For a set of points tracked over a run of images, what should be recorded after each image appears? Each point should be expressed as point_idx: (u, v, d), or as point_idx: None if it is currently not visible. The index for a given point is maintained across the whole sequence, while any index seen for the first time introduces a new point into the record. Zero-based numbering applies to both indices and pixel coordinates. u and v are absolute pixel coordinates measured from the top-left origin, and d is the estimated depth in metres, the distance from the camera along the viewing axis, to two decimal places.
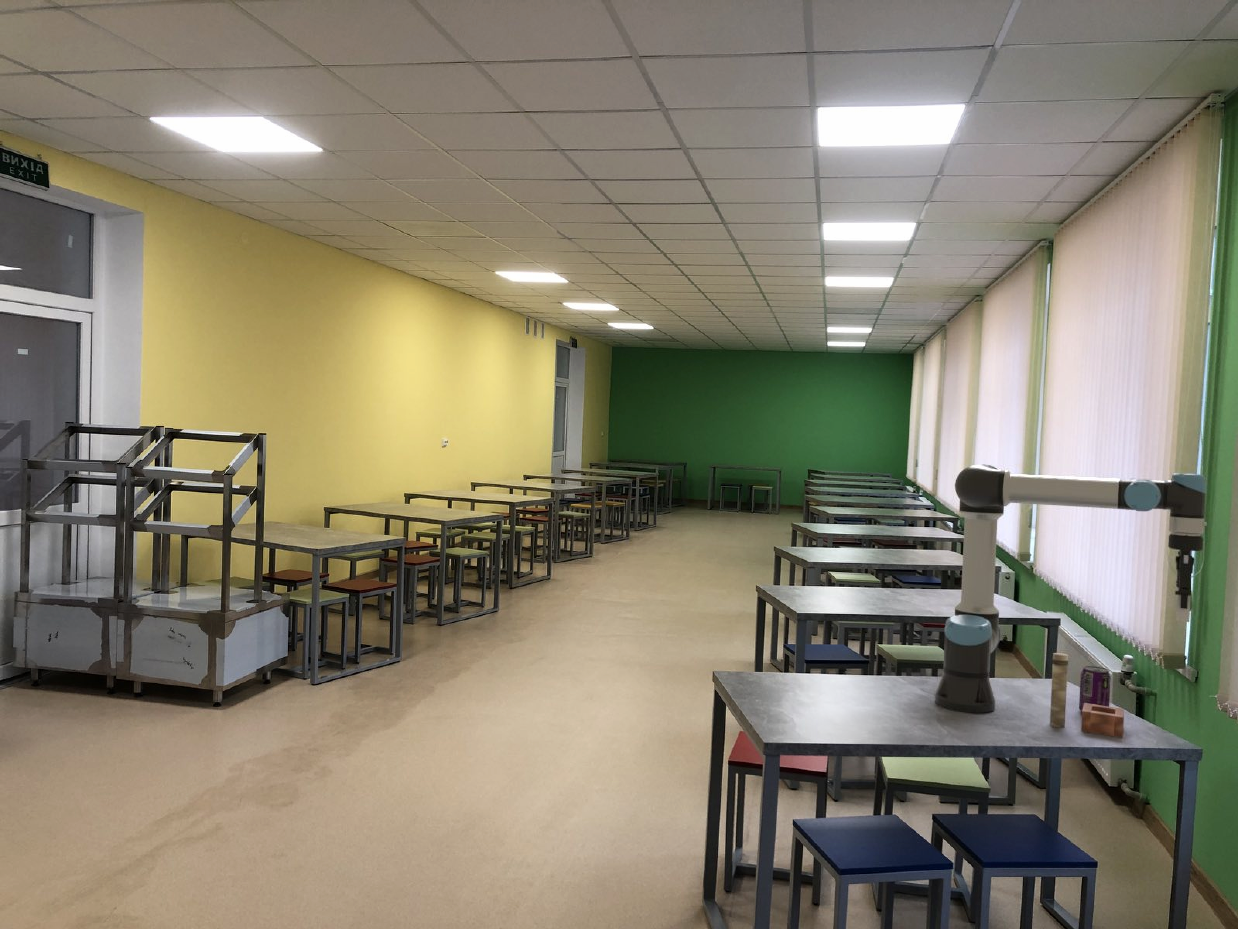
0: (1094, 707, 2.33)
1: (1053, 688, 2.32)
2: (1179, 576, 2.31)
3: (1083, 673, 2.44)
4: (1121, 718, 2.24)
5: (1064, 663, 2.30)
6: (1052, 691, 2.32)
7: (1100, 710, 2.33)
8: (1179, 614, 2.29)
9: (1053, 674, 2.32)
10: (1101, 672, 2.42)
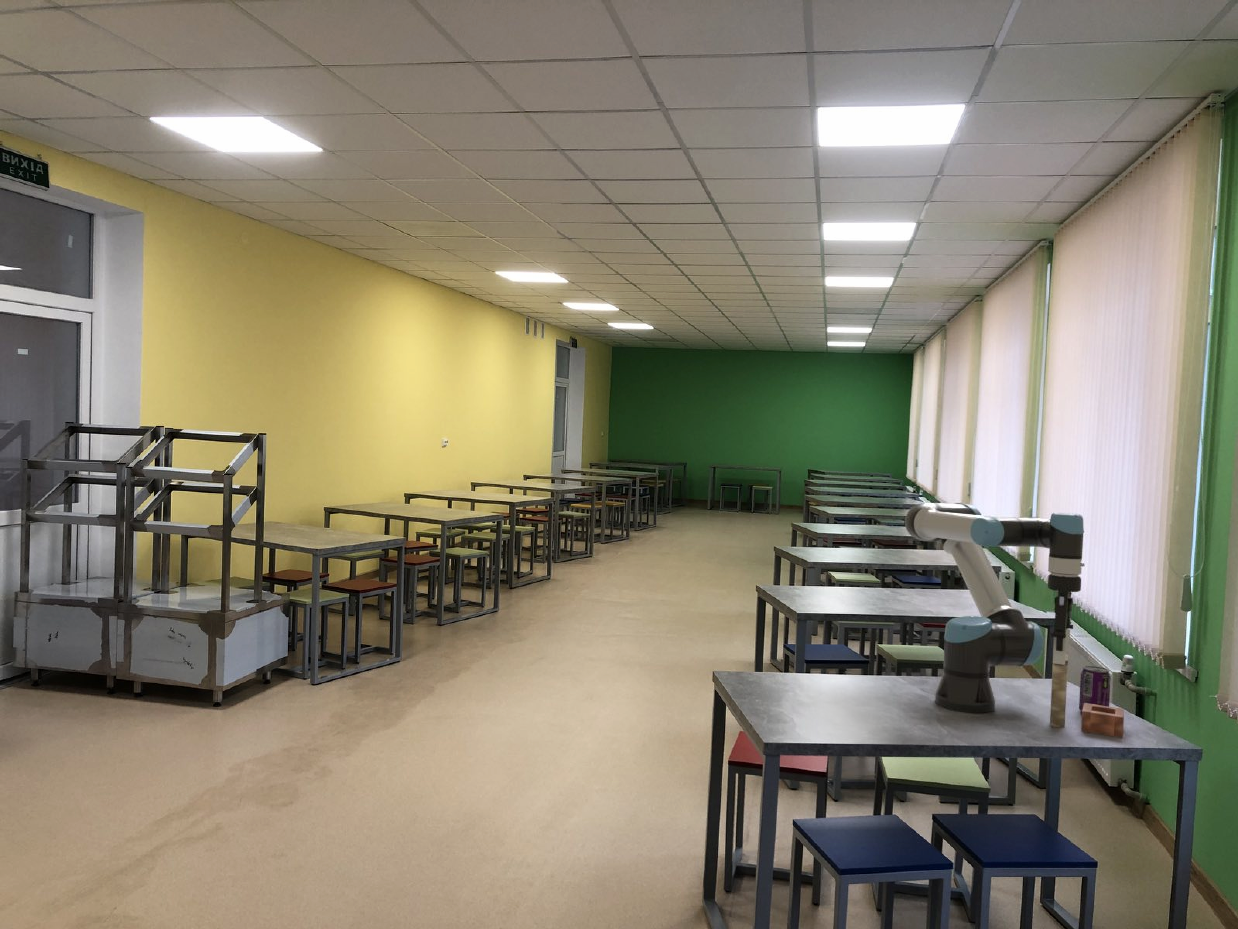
0: (1094, 707, 2.33)
1: (1053, 688, 2.32)
2: None
3: (1083, 673, 2.44)
4: (1121, 718, 2.24)
5: None
6: (1052, 691, 2.32)
7: (1100, 710, 2.33)
8: (1055, 656, 2.26)
9: (1053, 674, 2.32)
10: (1101, 672, 2.42)
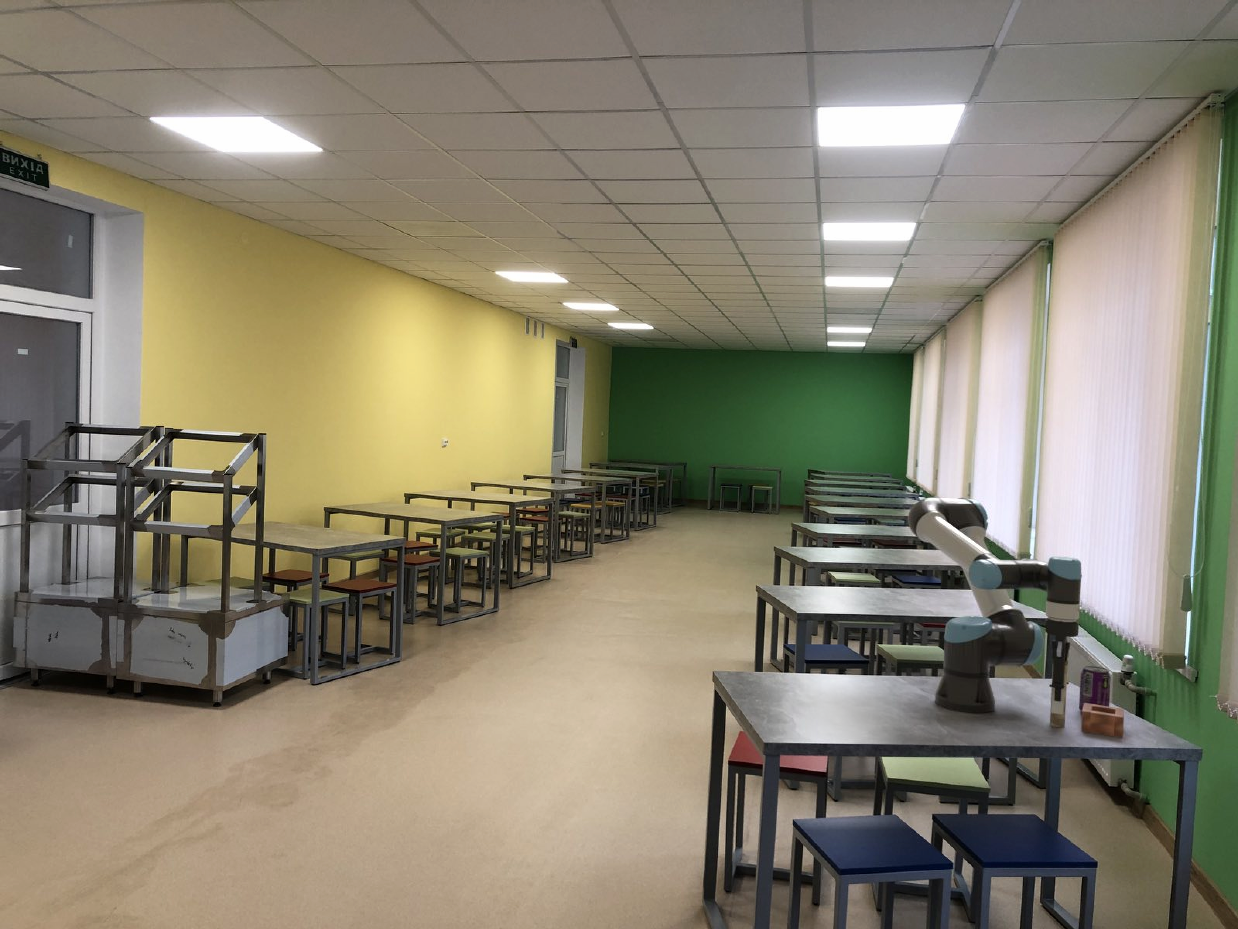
0: (1094, 707, 2.33)
1: None
2: None
3: (1083, 673, 2.44)
4: (1121, 718, 2.24)
5: None
6: None
7: (1100, 710, 2.33)
8: (1053, 706, 2.31)
9: None
10: (1101, 672, 2.42)
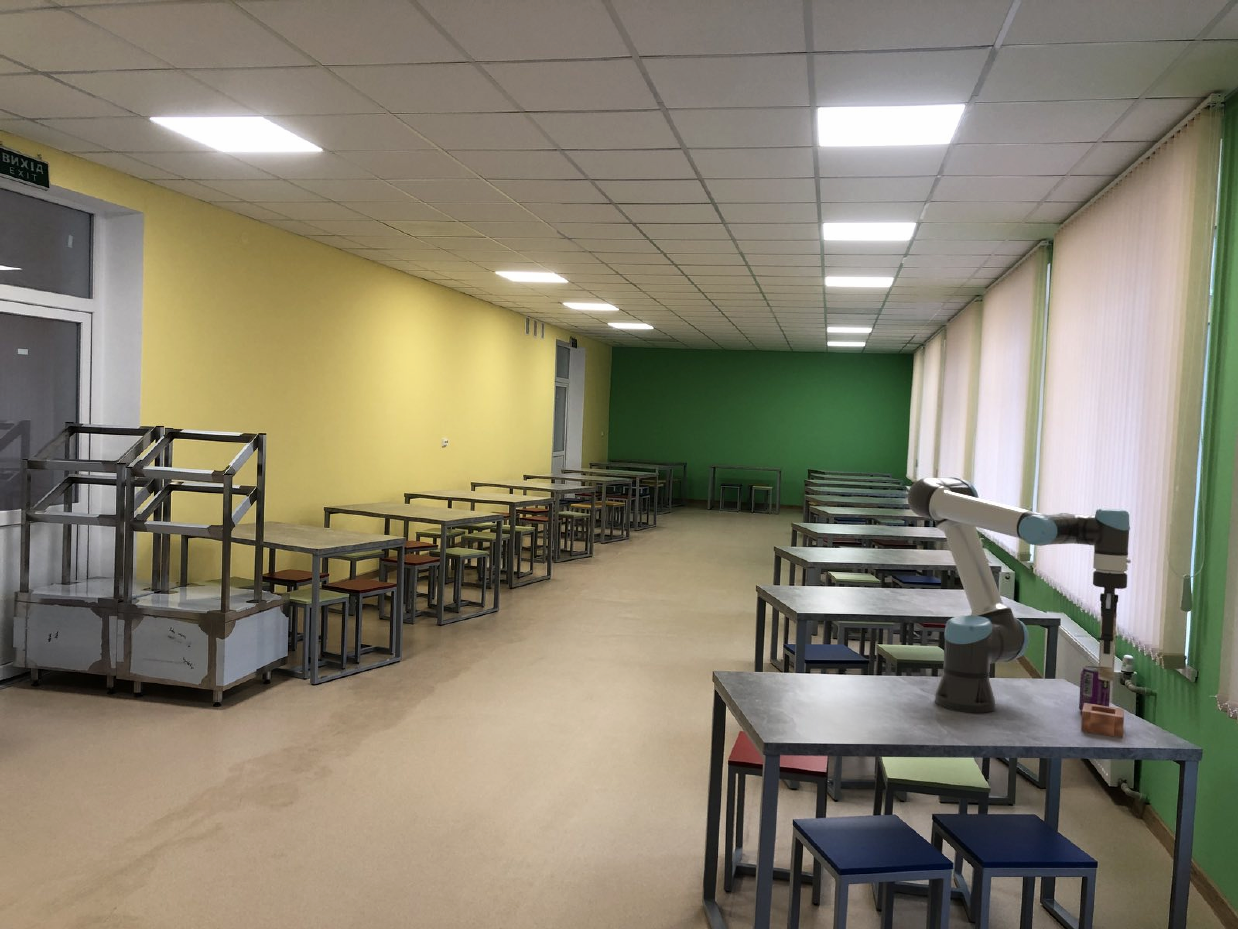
0: (1094, 707, 2.33)
1: None
2: None
3: (1083, 673, 2.44)
4: (1121, 718, 2.24)
5: None
6: (1100, 644, 2.29)
7: (1100, 710, 2.33)
8: (1102, 659, 2.28)
9: (1101, 627, 2.29)
10: None
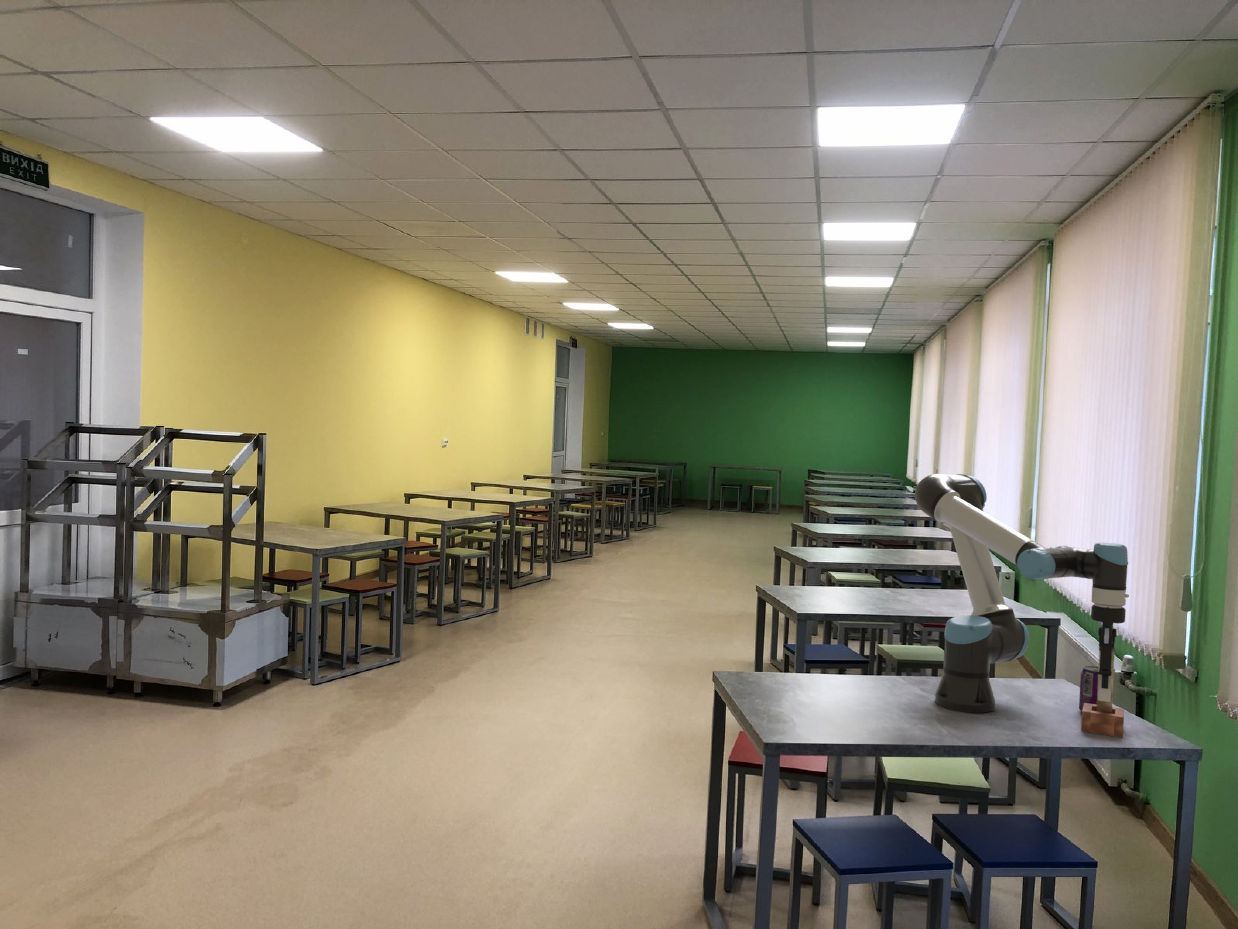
0: (1094, 707, 2.33)
1: None
2: None
3: (1083, 673, 2.44)
4: (1121, 718, 2.24)
5: None
6: None
7: None
8: (1100, 694, 2.28)
9: None
10: None
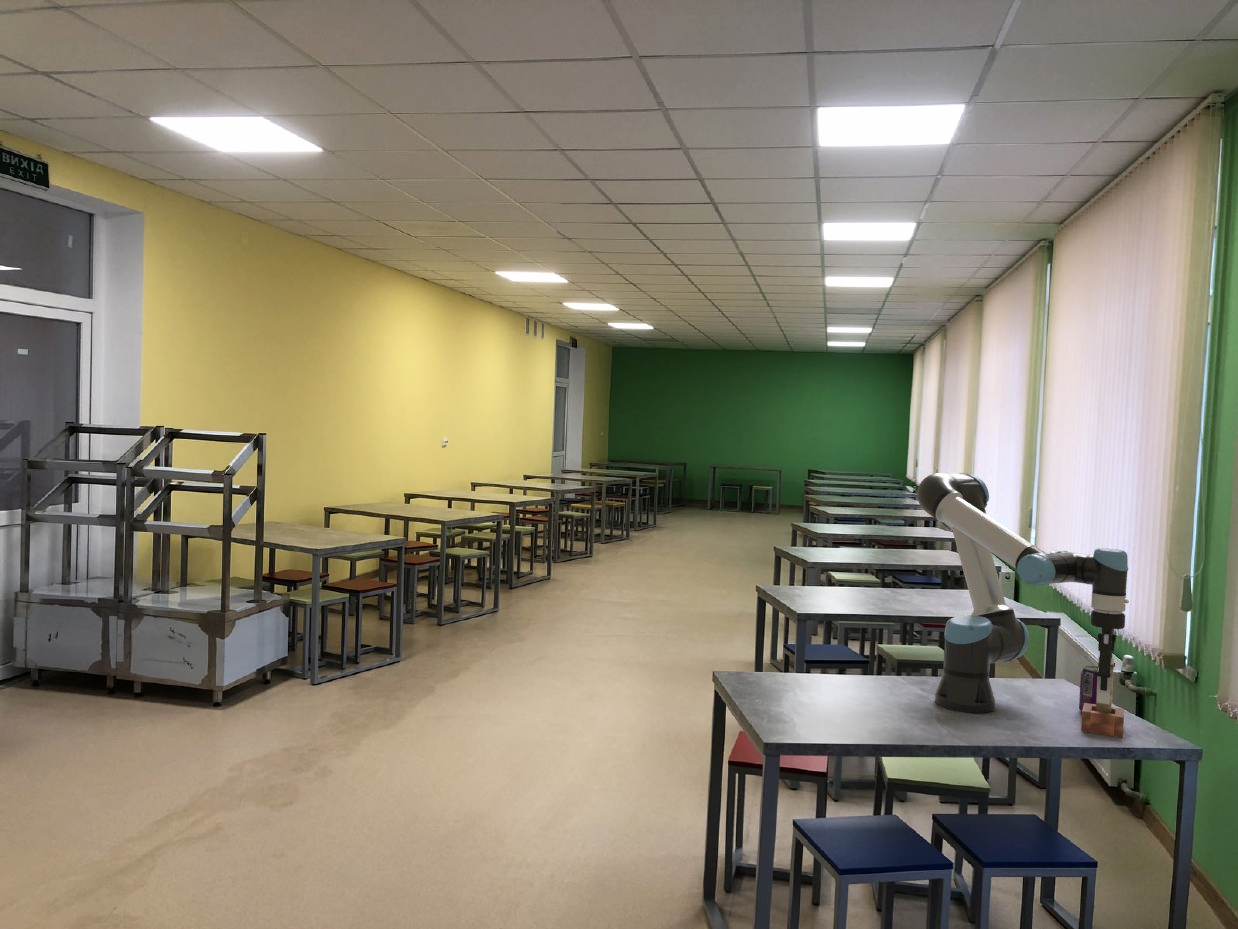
0: (1094, 707, 2.33)
1: None
2: None
3: (1083, 673, 2.44)
4: (1121, 718, 2.24)
5: (1110, 667, 2.28)
6: None
7: None
8: (1099, 696, 2.25)
9: None
10: None
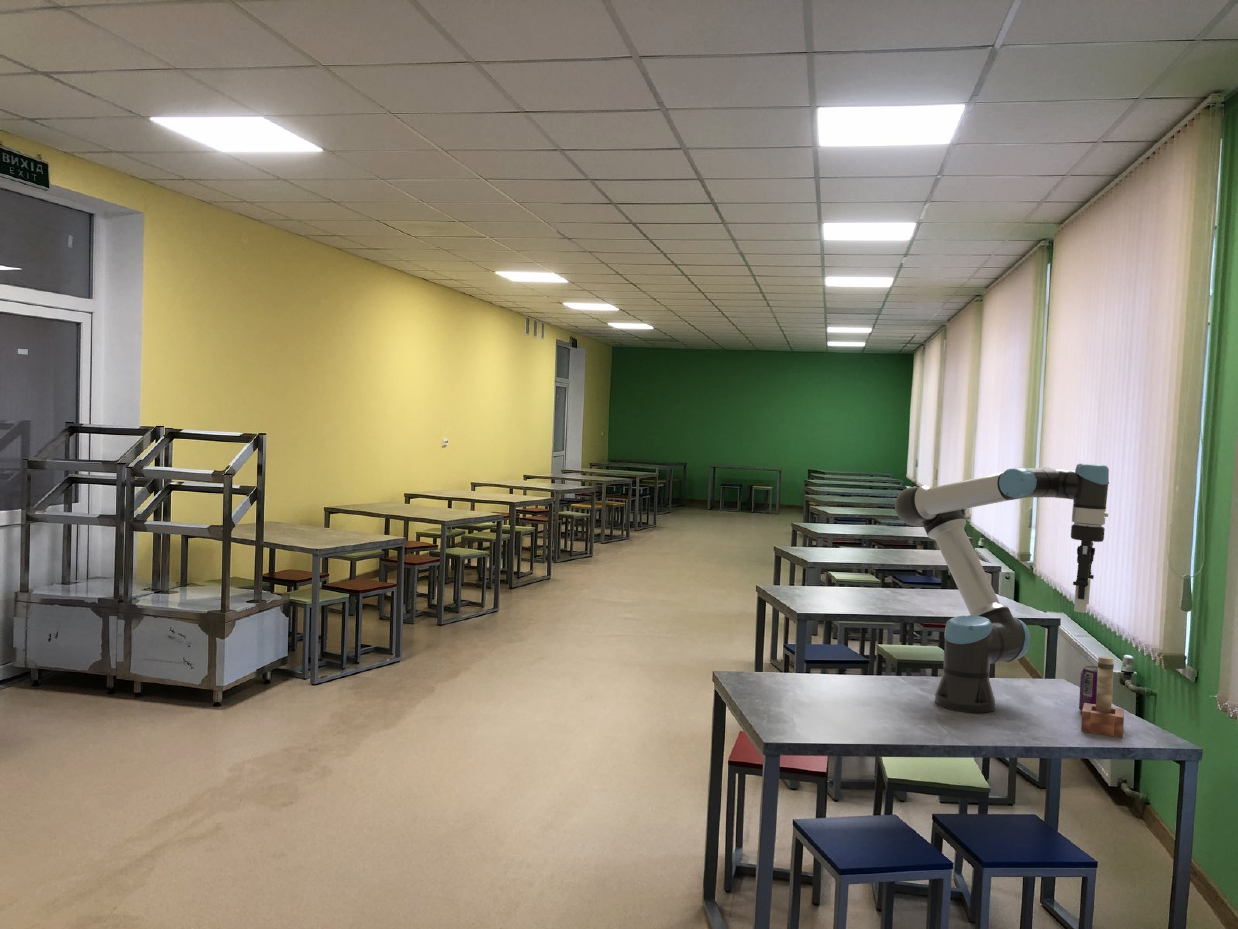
0: (1094, 707, 2.33)
1: (1098, 692, 2.30)
2: None
3: (1083, 673, 2.44)
4: (1121, 718, 2.24)
5: (1110, 667, 2.28)
6: (1097, 695, 2.30)
7: None
8: (1076, 605, 2.29)
9: (1098, 678, 2.30)
10: None
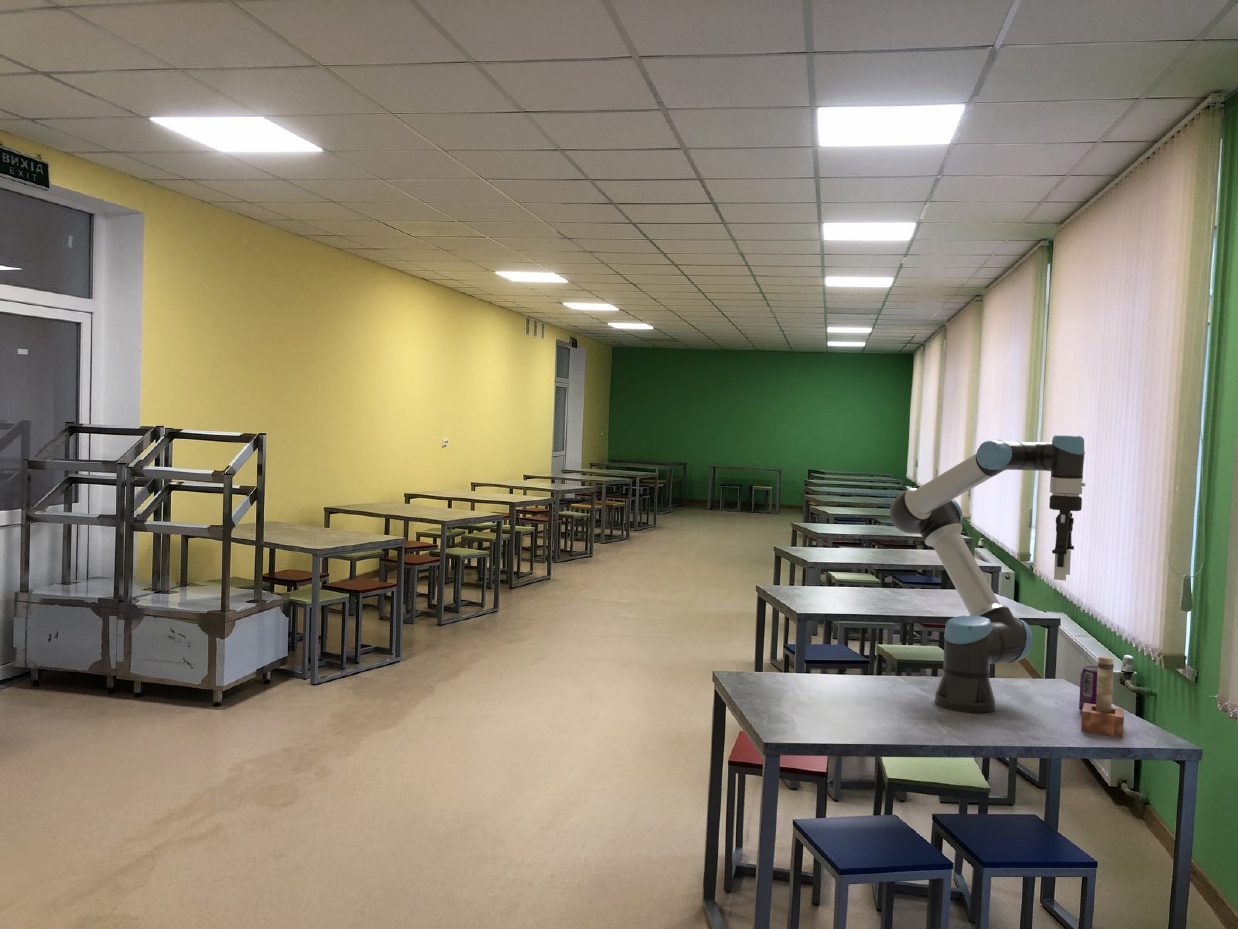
0: (1094, 707, 2.33)
1: (1098, 692, 2.30)
2: None
3: (1083, 673, 2.44)
4: (1121, 718, 2.24)
5: (1110, 667, 2.28)
6: (1097, 695, 2.30)
7: None
8: (1056, 573, 2.32)
9: (1098, 678, 2.30)
10: None
